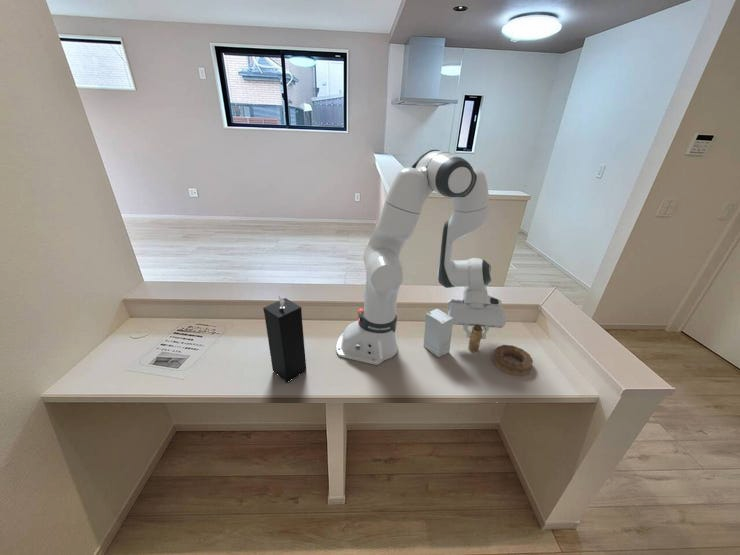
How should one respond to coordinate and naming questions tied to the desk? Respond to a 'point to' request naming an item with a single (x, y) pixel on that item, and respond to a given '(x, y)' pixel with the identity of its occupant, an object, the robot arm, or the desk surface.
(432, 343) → the skincare box
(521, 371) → the brown faceted ring
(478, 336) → the wooden peg
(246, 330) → the desk surface
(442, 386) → the desk surface
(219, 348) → the desk surface
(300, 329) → the square furniture leg
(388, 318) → the robot arm
